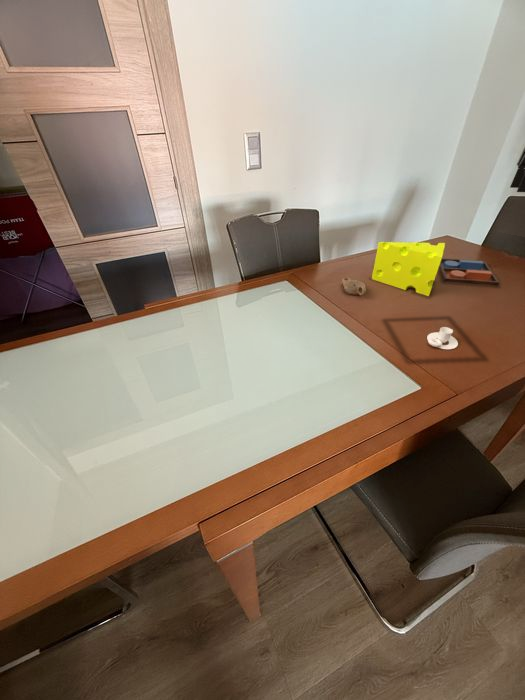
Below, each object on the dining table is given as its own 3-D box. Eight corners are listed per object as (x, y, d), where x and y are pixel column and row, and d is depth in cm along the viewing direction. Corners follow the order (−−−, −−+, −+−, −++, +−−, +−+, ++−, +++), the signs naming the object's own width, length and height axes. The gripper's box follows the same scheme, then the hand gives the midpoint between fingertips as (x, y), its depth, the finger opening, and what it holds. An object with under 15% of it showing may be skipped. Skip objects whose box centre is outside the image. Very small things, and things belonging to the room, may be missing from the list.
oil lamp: (336, 285, 116) (337, 273, 113) (354, 282, 117) (356, 270, 114) (352, 302, 106) (354, 289, 103) (371, 299, 107) (374, 286, 104)
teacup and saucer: (430, 351, 84) (435, 339, 81) (419, 334, 90) (423, 323, 87) (462, 350, 84) (468, 338, 81) (449, 333, 90) (453, 321, 87)
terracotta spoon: (486, 275, 115) (489, 269, 113) (490, 282, 111) (493, 275, 109) (448, 273, 118) (450, 266, 116) (450, 279, 114) (453, 272, 113)
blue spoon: (478, 265, 122) (481, 259, 120) (482, 271, 118) (484, 264, 116) (442, 263, 125) (444, 257, 123) (444, 268, 121) (446, 262, 120)
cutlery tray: (483, 265, 124) (485, 260, 122) (497, 287, 109) (499, 282, 108) (435, 262, 128) (437, 257, 127) (443, 283, 114) (445, 278, 112)
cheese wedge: (405, 303, 104) (417, 262, 94) (371, 279, 119) (378, 241, 109) (451, 292, 108) (466, 252, 99) (412, 270, 123) (422, 233, 113)
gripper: (526, 114, 111) (498, 184, 126) (549, 117, 97) (515, 195, 111) (550, 113, 109) (519, 184, 124) (578, 115, 95) (539, 196, 109)
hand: (517, 189), depth 117 cm, fingers open, 7 cm apart
